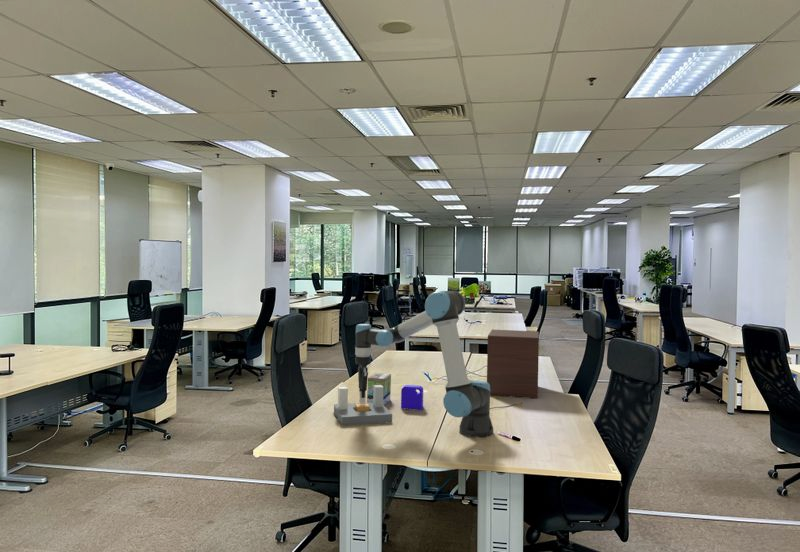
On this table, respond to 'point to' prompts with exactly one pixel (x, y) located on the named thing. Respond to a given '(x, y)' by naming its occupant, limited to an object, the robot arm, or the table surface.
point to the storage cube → (513, 363)
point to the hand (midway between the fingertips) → (362, 403)
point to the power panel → (362, 415)
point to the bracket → (412, 397)
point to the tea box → (379, 380)
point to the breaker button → (362, 407)
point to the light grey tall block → (378, 395)
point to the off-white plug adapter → (342, 397)
